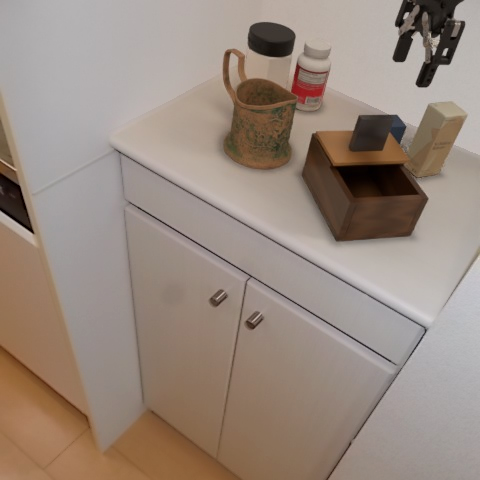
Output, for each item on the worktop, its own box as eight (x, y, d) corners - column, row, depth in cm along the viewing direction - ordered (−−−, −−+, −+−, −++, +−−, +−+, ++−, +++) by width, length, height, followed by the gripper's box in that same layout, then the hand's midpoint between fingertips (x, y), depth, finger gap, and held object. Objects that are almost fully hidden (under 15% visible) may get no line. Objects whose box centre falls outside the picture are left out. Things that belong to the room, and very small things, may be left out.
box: (416, 178, 88) (443, 116, 79) (401, 164, 90) (426, 102, 82) (440, 174, 90) (469, 113, 81) (425, 160, 92) (452, 99, 84)
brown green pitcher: (246, 108, 96) (256, 39, 87) (305, 159, 87) (323, 89, 78) (192, 119, 91) (196, 48, 82) (248, 175, 82) (260, 102, 73)
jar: (240, 84, 101) (249, 17, 92) (282, 90, 102) (295, 24, 93) (239, 107, 95) (248, 38, 86) (283, 113, 96) (296, 46, 87)
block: (389, 134, 96) (397, 114, 93) (398, 147, 94) (407, 126, 91) (369, 135, 95) (377, 114, 92) (378, 147, 93) (386, 126, 90)
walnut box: (368, 172, 87) (383, 131, 82) (410, 235, 78) (430, 195, 72) (301, 174, 84) (312, 132, 79) (336, 241, 75) (351, 199, 69)
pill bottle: (299, 92, 102) (312, 32, 94) (326, 104, 100) (342, 44, 92) (282, 103, 98) (294, 42, 90) (310, 116, 97) (325, 55, 88)
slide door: (386, 133, 81) (399, 98, 76) (409, 163, 76) (424, 128, 72) (314, 134, 78) (324, 98, 73) (333, 166, 73) (344, 129, 69)
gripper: (504, -23, 69) (450, 95, 81) (451, -59, 78) (410, 53, 90) (455, -26, 67) (408, 95, 79) (407, -63, 76) (371, 52, 88)
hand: (409, 73), depth 85 cm, fingers open, 8 cm apart
